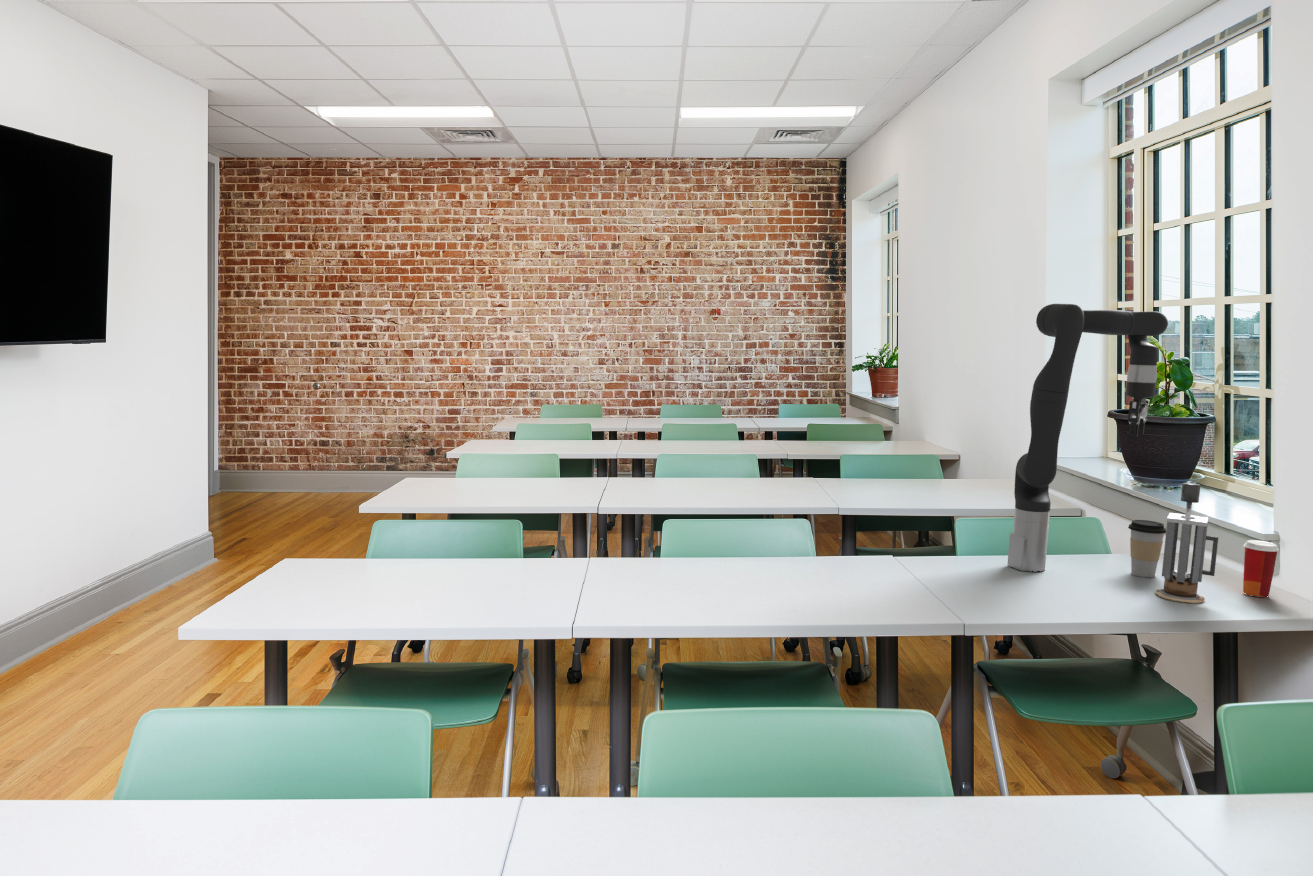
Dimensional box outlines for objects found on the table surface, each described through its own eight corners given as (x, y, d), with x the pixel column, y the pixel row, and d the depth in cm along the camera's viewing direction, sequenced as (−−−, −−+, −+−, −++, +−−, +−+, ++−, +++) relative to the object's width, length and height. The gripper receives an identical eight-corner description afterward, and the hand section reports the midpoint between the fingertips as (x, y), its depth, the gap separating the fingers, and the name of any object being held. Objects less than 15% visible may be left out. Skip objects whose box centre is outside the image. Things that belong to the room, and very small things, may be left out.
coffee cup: (1166, 580, 243) (1172, 527, 241) (1130, 577, 244) (1135, 525, 243) (1154, 571, 252) (1159, 520, 250) (1119, 569, 254) (1124, 518, 252)
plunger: (1182, 579, 222) (1192, 486, 220) (1162, 573, 228) (1172, 482, 225) (1200, 578, 224) (1210, 486, 221) (1181, 572, 230) (1190, 481, 227)
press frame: (1153, 597, 225) (1161, 517, 223) (1157, 588, 234) (1164, 511, 232) (1210, 607, 218) (1219, 525, 216) (1212, 597, 227) (1220, 518, 225)
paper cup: (1267, 592, 233) (1274, 541, 232) (1277, 600, 226) (1283, 547, 225) (1234, 589, 236) (1239, 538, 234) (1242, 596, 229) (1248, 544, 227)
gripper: (1151, 382, 247) (1145, 439, 248) (1160, 380, 258) (1155, 435, 259) (1121, 380, 251) (1116, 436, 253) (1132, 379, 262) (1127, 433, 264)
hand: (1136, 436), depth 256 cm, fingers open, 8 cm apart
